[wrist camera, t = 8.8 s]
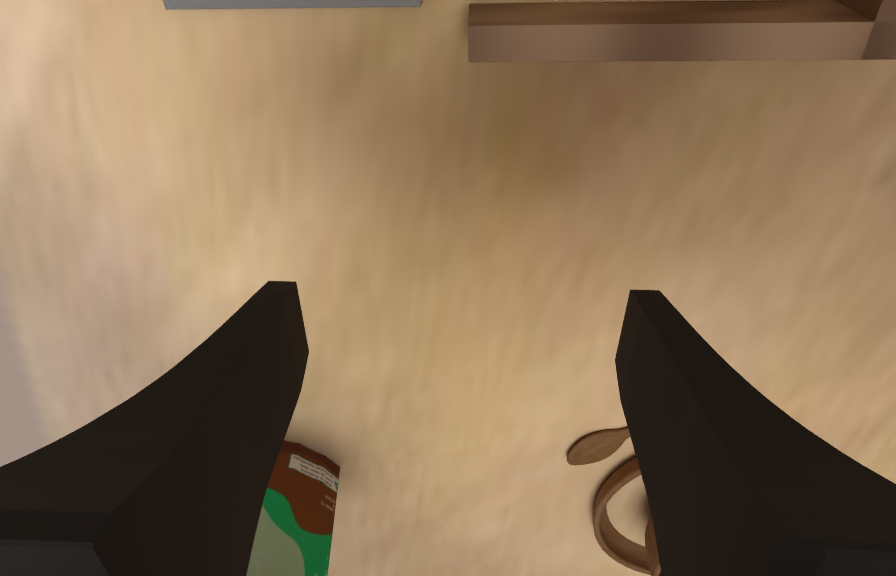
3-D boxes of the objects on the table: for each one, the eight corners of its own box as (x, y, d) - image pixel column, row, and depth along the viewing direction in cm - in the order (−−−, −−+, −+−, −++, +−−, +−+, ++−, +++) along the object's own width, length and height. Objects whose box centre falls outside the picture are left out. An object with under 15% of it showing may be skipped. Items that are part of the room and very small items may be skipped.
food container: (286, 387, 30) (217, 593, 22) (362, 458, 33) (325, 662, 25) (115, 466, 35) (6, 662, 27) (197, 522, 38) (121, 713, 30)
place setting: (864, 532, 37) (921, 639, 32) (570, 624, 45) (580, 720, 40) (735, 355, 29) (786, 462, 24) (406, 506, 37) (396, 608, 32)
